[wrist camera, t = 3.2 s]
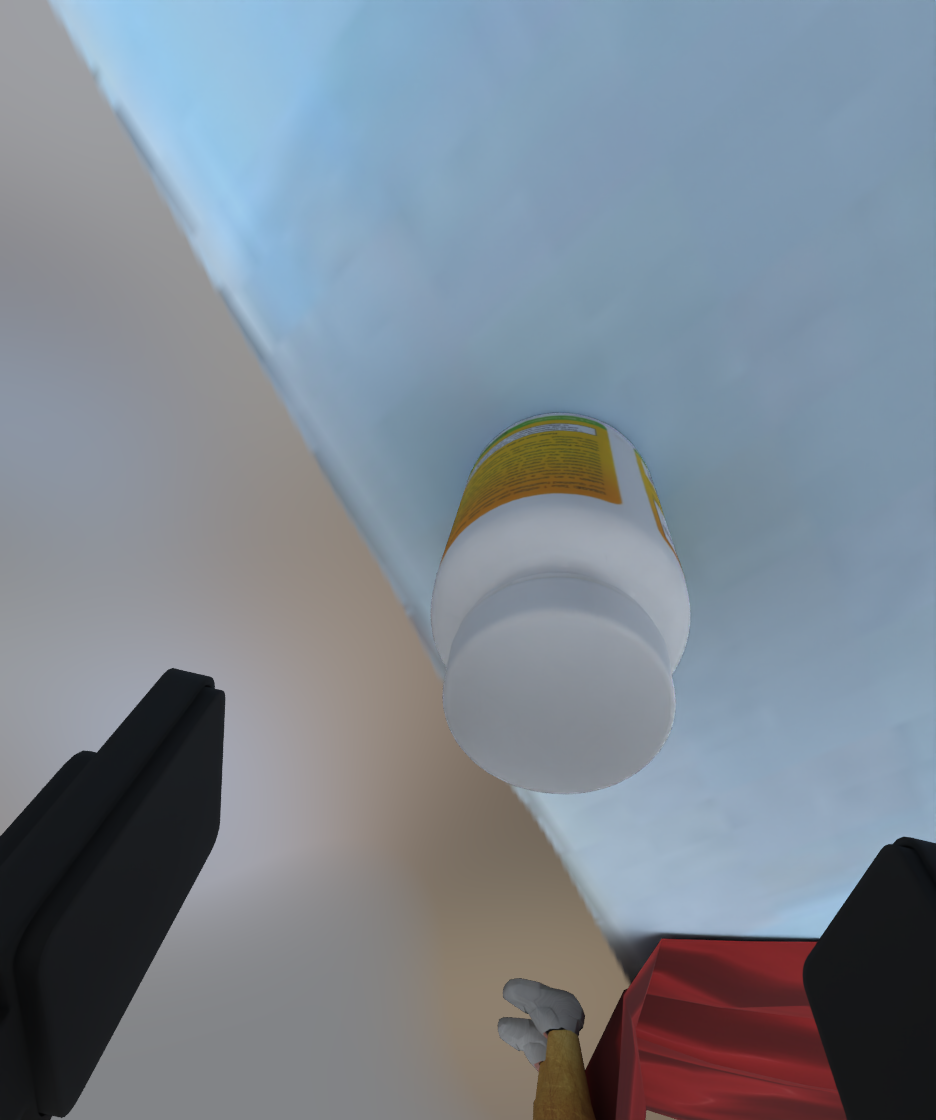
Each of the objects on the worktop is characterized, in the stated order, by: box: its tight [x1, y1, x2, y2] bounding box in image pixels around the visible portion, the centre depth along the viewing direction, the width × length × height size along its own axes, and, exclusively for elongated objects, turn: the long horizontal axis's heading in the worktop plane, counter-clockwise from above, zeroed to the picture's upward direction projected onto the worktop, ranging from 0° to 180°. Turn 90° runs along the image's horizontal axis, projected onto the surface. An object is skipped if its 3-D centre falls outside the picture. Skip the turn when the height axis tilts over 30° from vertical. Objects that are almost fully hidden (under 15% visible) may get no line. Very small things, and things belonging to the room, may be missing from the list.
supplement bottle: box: [431, 413, 691, 794], centre depth 16 cm, size 5×5×10 cm
